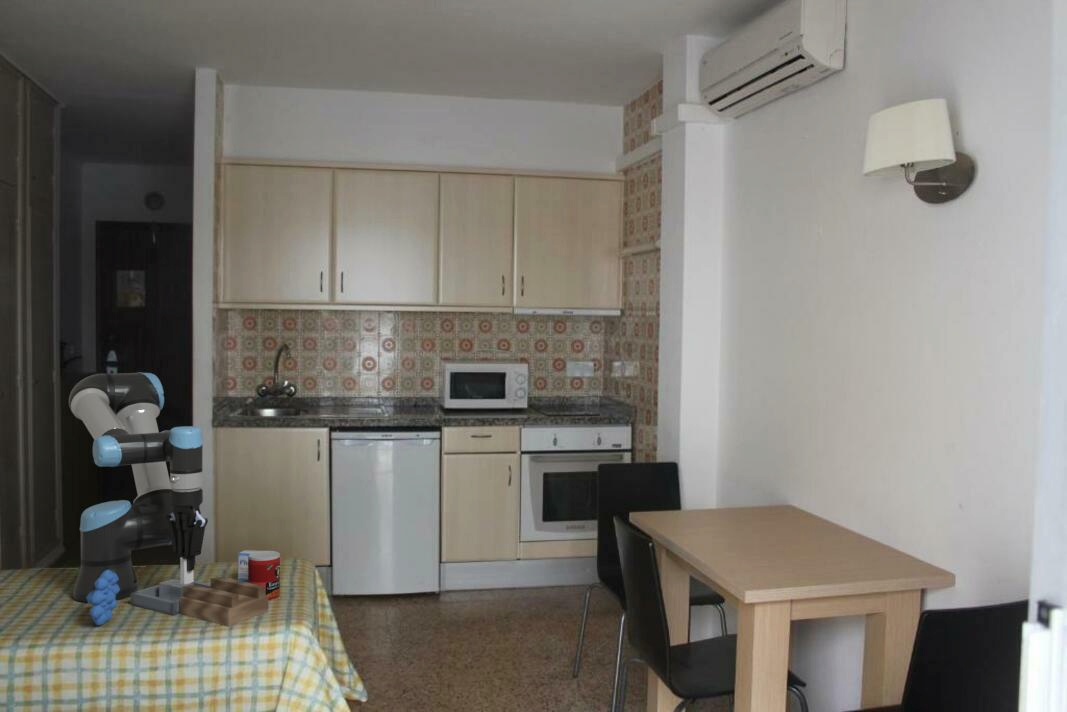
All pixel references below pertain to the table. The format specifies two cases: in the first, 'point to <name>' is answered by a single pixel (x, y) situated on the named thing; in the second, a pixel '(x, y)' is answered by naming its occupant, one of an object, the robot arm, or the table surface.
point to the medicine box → (243, 565)
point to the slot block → (224, 601)
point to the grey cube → (177, 591)
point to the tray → (158, 600)
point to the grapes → (103, 597)
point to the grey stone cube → (166, 588)
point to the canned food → (265, 571)
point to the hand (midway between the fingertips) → (187, 582)
